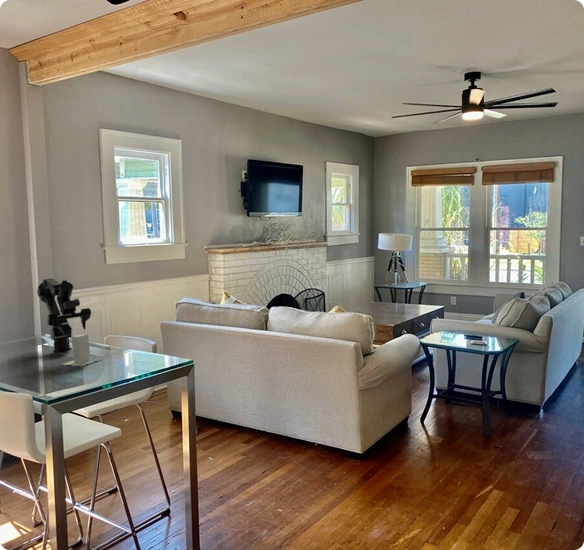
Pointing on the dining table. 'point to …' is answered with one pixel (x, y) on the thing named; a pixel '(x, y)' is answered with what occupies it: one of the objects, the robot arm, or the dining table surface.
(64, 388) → the dining table surface
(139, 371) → the dining table surface
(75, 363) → the mat
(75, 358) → the skincare box
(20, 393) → the dining table surface
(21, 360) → the dining table surface
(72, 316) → the robot arm
